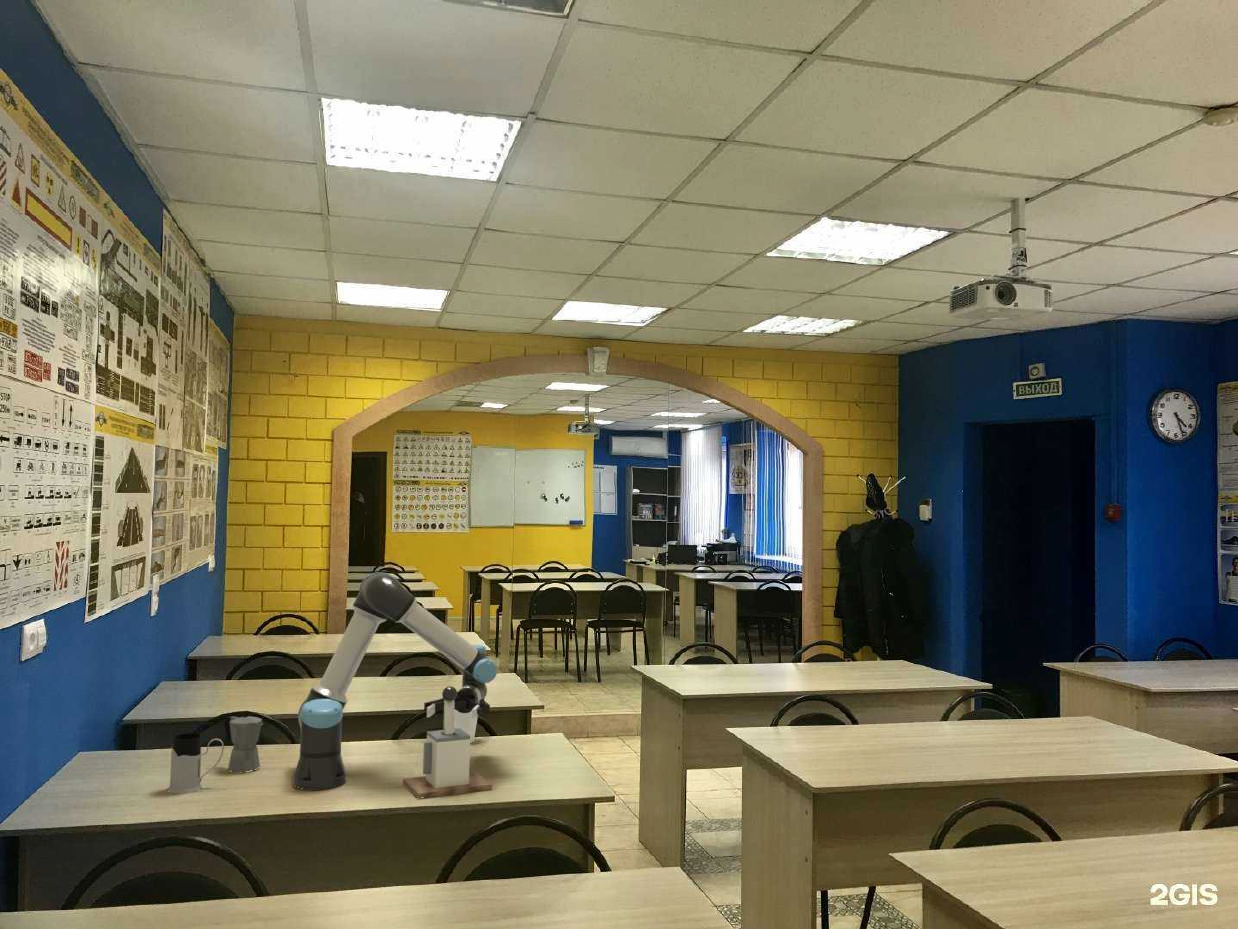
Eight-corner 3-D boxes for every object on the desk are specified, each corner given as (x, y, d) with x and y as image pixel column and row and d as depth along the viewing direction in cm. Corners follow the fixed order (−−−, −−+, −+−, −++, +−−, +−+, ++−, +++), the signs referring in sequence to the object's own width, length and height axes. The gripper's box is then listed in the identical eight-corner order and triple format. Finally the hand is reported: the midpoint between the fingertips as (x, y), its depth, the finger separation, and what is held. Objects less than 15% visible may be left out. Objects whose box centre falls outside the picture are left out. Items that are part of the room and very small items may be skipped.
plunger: (439, 780, 267) (442, 689, 268) (432, 774, 273) (434, 685, 275) (462, 778, 270) (465, 687, 272) (454, 771, 276) (457, 683, 278)
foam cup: (481, 739, 329) (482, 702, 330) (474, 745, 320) (475, 708, 321) (455, 738, 330) (456, 701, 331) (447, 744, 321) (449, 706, 322)
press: (428, 789, 264) (429, 739, 265) (418, 780, 273) (419, 732, 273) (468, 784, 270) (470, 735, 270) (458, 775, 278) (459, 728, 279)
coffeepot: (271, 768, 287) (273, 710, 288) (248, 776, 279) (250, 715, 280) (234, 762, 293) (236, 705, 294) (210, 769, 285) (213, 710, 286)
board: (417, 799, 259) (417, 793, 259) (402, 784, 273) (402, 779, 274) (491, 789, 270) (491, 784, 270) (473, 775, 284) (473, 770, 284)
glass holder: (169, 786, 267) (171, 733, 268) (222, 782, 272) (224, 730, 273) (166, 795, 259) (168, 740, 259) (221, 790, 264) (223, 737, 265)
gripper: (505, 712, 293) (491, 727, 272) (428, 710, 295) (409, 725, 274) (505, 688, 294) (492, 702, 273) (428, 686, 295) (409, 699, 274)
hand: (450, 713), depth 273 cm, fingers open, 13 cm apart
